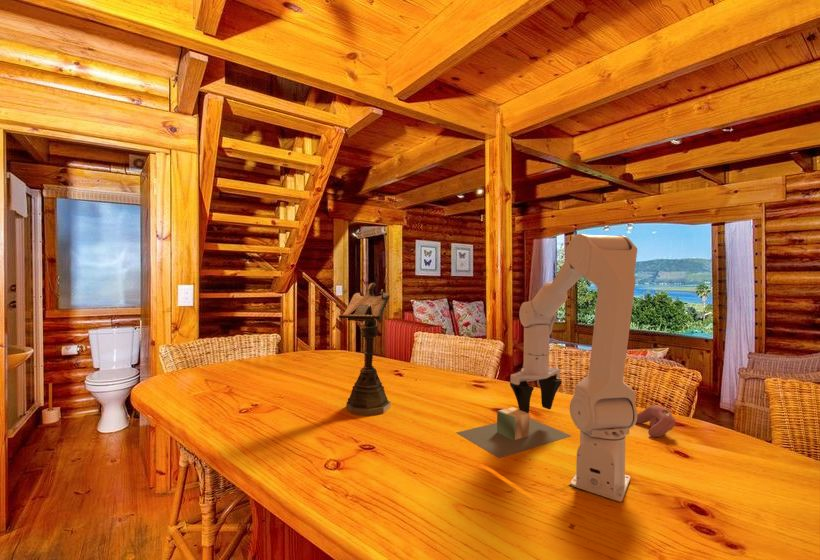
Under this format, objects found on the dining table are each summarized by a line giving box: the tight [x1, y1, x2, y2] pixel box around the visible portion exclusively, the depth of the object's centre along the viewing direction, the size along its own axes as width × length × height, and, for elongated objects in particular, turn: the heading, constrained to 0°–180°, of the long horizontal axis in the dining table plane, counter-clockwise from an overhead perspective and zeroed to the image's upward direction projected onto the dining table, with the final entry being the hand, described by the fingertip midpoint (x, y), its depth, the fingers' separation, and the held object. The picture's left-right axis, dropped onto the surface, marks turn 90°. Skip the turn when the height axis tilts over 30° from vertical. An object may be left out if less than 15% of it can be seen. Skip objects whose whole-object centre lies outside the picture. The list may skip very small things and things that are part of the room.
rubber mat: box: [455, 417, 572, 459], centre depth 87 cm, size 22×14×1 cm, turn 120°
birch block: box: [496, 406, 530, 440], centre depth 87 cm, size 5×5×5 cm
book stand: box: [336, 282, 391, 417], centre depth 102 cm, size 17×13×35 cm
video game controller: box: [636, 403, 676, 438], centre depth 91 cm, size 10×5×7 cm, turn 169°
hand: (535, 410), depth 90 cm, fingers open, 7 cm apart
